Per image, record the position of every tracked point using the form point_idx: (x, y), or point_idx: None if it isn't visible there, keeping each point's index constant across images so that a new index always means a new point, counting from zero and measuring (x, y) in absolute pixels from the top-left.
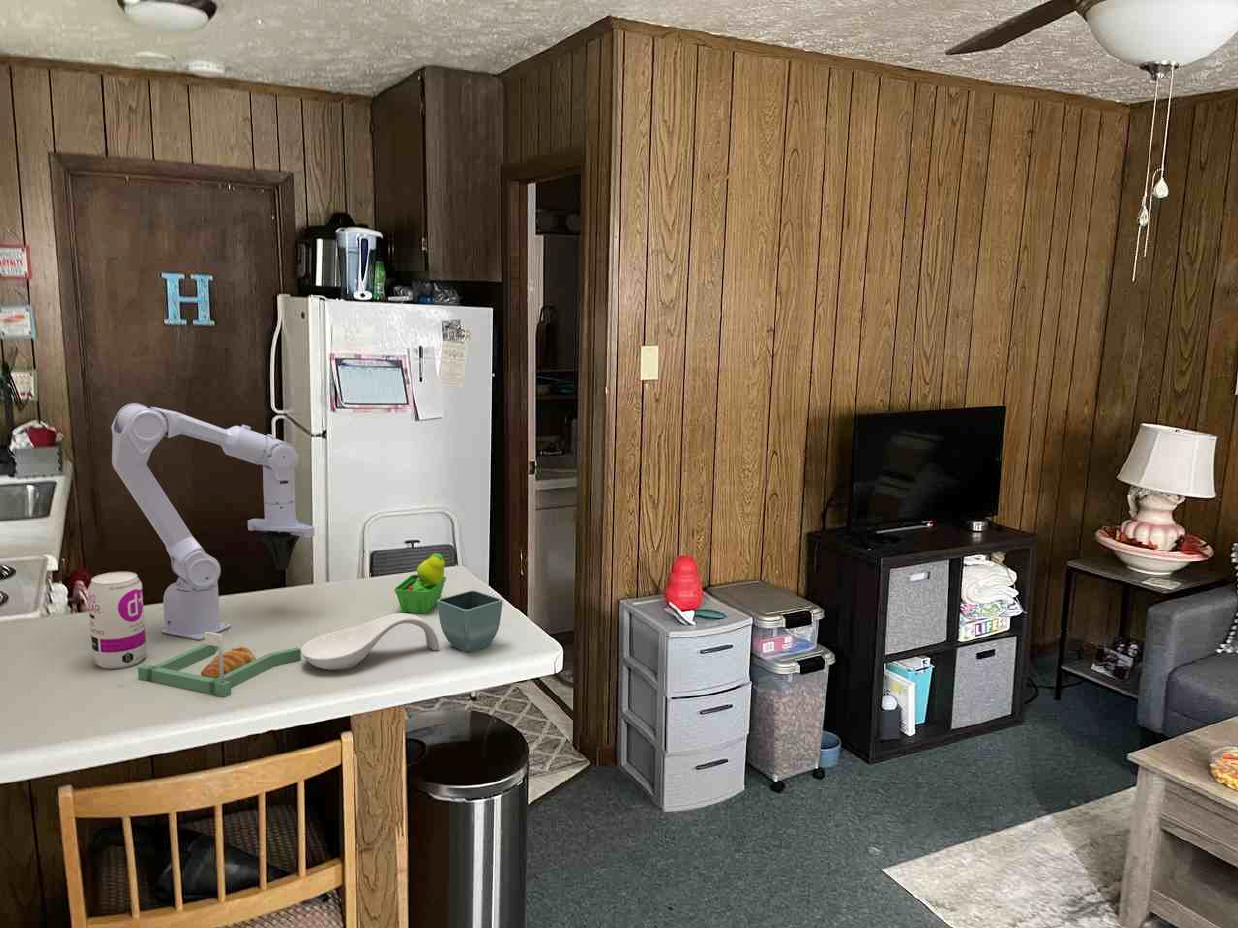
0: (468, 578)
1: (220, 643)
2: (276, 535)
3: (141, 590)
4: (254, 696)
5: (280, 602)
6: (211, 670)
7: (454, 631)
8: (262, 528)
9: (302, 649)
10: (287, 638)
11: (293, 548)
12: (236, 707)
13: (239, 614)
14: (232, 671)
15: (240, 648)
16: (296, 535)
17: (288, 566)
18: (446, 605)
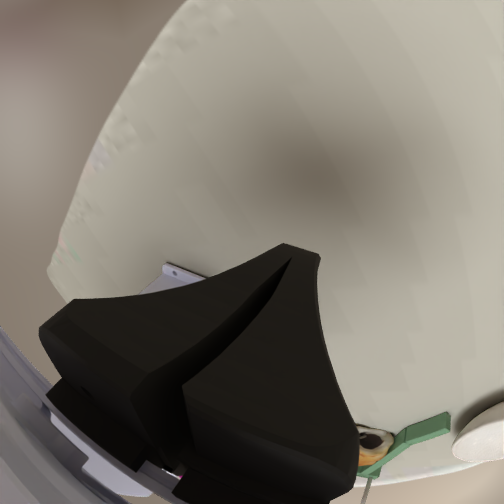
0: None
1: None
2: (174, 470)
3: (181, 476)
4: (407, 467)
5: (259, 83)
6: None
7: None
8: (83, 468)
9: (453, 451)
10: (412, 349)
11: (323, 336)
12: (395, 476)
13: (218, 209)
14: (372, 466)
15: (364, 456)
16: (334, 495)
17: (318, 261)
18: None
